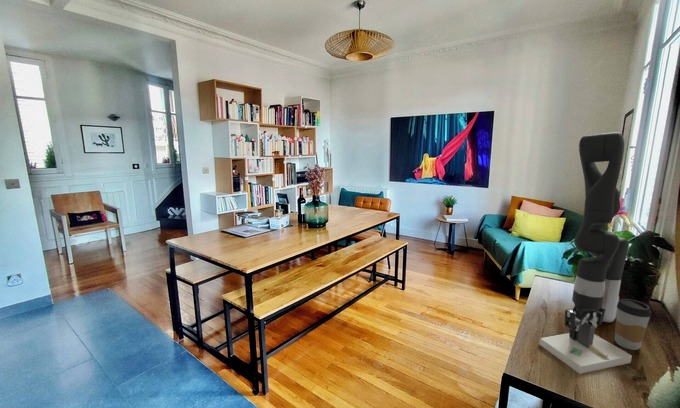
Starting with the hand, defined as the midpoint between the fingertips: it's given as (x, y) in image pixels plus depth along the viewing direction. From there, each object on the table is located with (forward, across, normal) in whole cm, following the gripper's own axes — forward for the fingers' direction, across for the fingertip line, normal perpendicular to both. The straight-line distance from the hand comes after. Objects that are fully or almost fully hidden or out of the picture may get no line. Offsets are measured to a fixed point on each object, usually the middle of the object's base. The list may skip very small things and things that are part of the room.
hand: (581, 337), depth 101 cm
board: (+4, +1, +2) cm, 5 cm away
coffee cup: (+4, -18, +2) cm, 19 cm away
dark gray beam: (+1, 0, +3) cm, 3 cm away
